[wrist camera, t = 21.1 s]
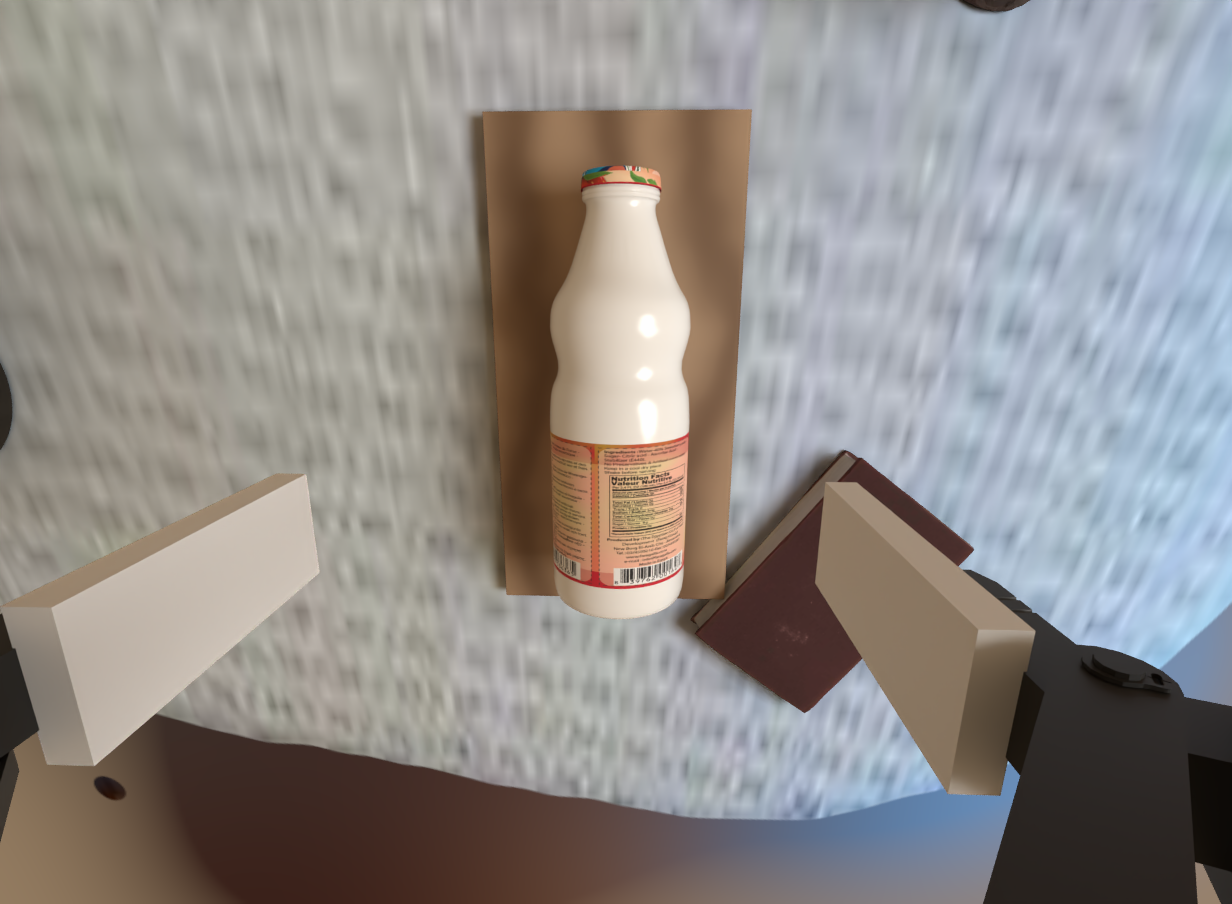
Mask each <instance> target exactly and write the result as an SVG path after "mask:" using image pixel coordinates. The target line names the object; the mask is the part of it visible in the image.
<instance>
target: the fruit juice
mask: <svg viewBox="0 0 1232 904" xmlns="http://www.w3.org/2000/svg"><path fill="white" fill-rule="evenodd" d="M581 192H582V201H583V203H585V204H586V217H585V221H584V225H583V228H582V232H581V235H580V239H579V242H578V246H577V249H576V252H575V255H574V259H573V262H572V265H571V267H570V270H569V273H568V275H567V277H566V279H565V281H564V283H563V285H562V287H561V288H560V290H559V292H558V293H557V295H556V297H555V299H554V301H553V304H552V308H551V314H550V332H551V337H552V341H553V345H554V348H555V352H556V355H557V359H558V373H557V377H556V379H555V382H554V384H553V387H552V392H551V402H550V436H551V473H552V515H553V555H554V579H555V585H556V589H557V592H558V594H559V596H560V598H561V599H562V601H563V602H564V603H566V604H567V605H568V606H570V607H571V608H573V609H575V610H577V611H579V612H581V613H584V614H587V615H591V616H595V617H600V618H608V619H631V618H639V617H644V616H648V615H651V614H654V613H657V612H659V611H662V610H664V609H665V608H667V607H669V606H670V605H671V604H672V603H674V601H675V600H676V599H677V597H678V596H679V594H680V591H681V588H682V582H683V573H684V547H685V520H686V493H687V465H688V439H689V395H688V389H687V386H686V383H685V381H684V378H683V374H682V360H683V356H684V353H685V350H686V346H687V343H688V339H689V335H690V329H691V326H690V310H689V305H688V302H687V300H686V298H685V296H684V294H683V292H682V291H681V289H680V287H679V285H678V283H677V281H676V279H675V276H674V274H673V271H672V268H671V265H670V262H669V258H668V255H667V252H666V249H665V245H664V242H663V238H662V234H661V231H660V228H659V224H658V221H657V217H656V204H658V203H659V201H660V192H661V178H660V174H659V172H657V171H655V170H653V169H649V168H645V167H638V166H604V167H597V168H592V169H589V170H586V171H585V172H584V173H583V174H582V180H581Z"/></svg>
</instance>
